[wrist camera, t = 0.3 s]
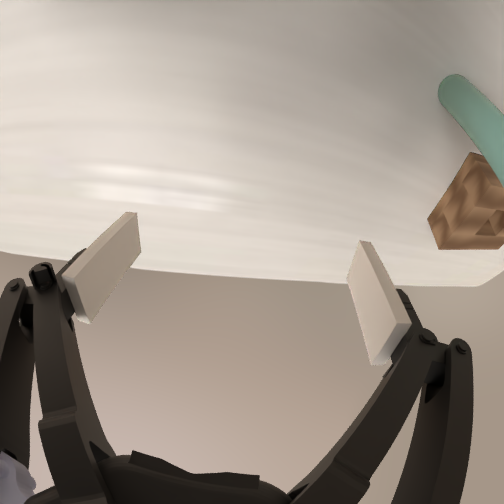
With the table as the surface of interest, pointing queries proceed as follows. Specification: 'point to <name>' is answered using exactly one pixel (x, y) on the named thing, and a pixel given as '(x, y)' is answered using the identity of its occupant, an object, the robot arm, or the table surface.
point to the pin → (476, 119)
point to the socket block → (470, 209)
